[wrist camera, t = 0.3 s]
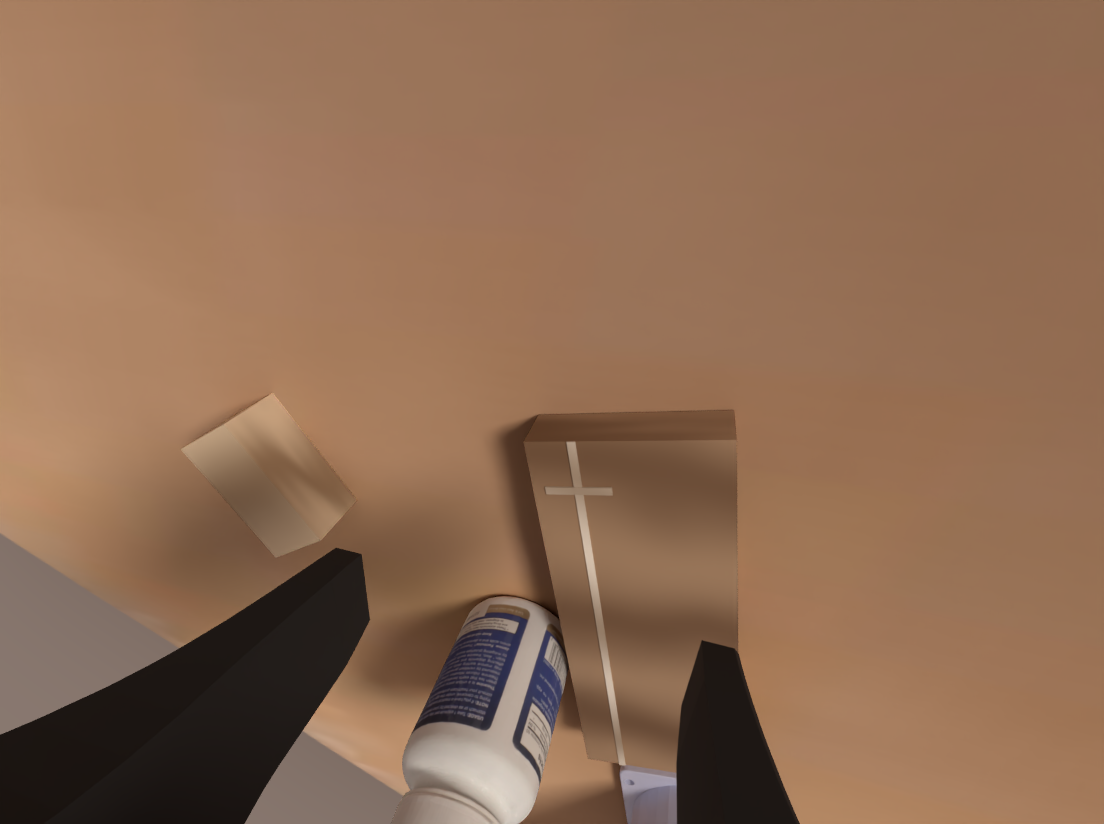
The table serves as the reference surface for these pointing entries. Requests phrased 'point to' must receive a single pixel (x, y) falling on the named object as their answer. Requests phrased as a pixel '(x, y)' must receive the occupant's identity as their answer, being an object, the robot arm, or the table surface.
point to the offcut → (272, 476)
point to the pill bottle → (487, 719)
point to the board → (637, 564)
